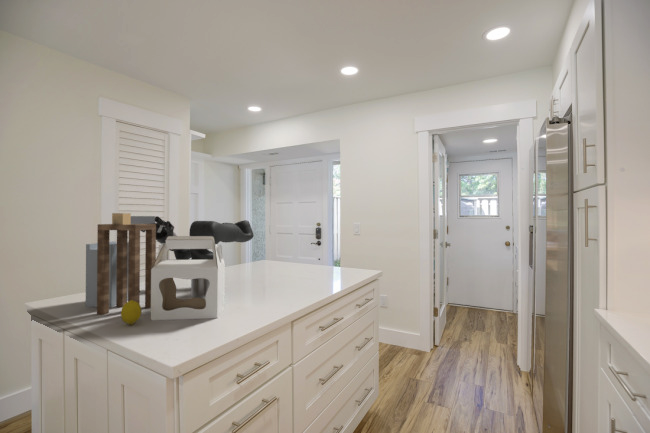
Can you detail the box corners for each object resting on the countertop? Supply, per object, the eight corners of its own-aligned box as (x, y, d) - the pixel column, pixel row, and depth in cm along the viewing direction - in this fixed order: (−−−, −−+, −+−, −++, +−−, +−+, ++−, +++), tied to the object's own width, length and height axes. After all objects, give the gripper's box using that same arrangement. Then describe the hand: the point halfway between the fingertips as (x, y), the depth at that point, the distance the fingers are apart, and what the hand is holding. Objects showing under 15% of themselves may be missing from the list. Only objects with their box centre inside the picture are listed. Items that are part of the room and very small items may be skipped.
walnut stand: (155, 305, 122) (155, 223, 122) (134, 315, 110) (135, 224, 110) (120, 305, 123) (121, 223, 123) (96, 314, 111) (97, 224, 111)
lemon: (144, 322, 103) (145, 298, 103) (133, 328, 98) (133, 302, 98) (129, 321, 104) (129, 297, 104) (116, 327, 98) (116, 302, 98)
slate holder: (134, 297, 134) (135, 241, 134) (110, 307, 120) (110, 244, 120) (112, 297, 135) (112, 241, 135) (85, 306, 121) (86, 244, 121)
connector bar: (156, 223, 131) (156, 213, 131) (122, 224, 111) (123, 213, 111) (147, 223, 131) (147, 213, 131) (112, 224, 111) (112, 213, 111)
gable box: (149, 320, 105) (150, 237, 105) (164, 309, 118) (165, 235, 118) (218, 318, 108) (218, 237, 108) (225, 307, 121) (225, 235, 121)
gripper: (178, 243, 139) (160, 226, 125) (147, 243, 139) (125, 226, 125) (182, 228, 142) (165, 210, 128) (152, 228, 143) (132, 210, 129)
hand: (145, 218), depth 127 cm, fingers open, 8 cm apart
